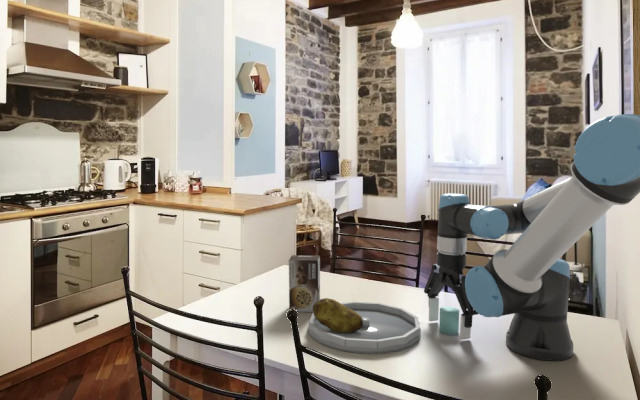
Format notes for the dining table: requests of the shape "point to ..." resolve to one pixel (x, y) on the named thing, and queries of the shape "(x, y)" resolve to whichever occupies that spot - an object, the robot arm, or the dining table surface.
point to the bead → (449, 320)
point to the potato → (337, 316)
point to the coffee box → (304, 282)
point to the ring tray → (371, 330)
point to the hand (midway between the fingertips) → (448, 329)
